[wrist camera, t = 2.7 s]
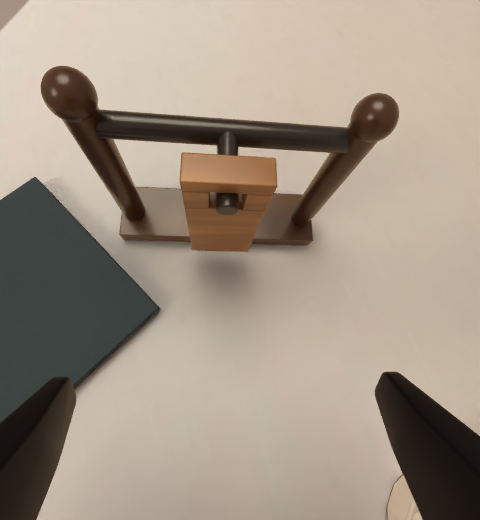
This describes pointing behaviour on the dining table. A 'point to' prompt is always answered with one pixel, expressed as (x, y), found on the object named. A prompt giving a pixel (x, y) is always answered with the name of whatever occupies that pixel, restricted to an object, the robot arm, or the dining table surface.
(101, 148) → the rail stand
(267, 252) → the dining table surface
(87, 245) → the rubber mat
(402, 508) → the white cup
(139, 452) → the dining table surface
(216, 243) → the oak block with hole
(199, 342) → the dining table surface
